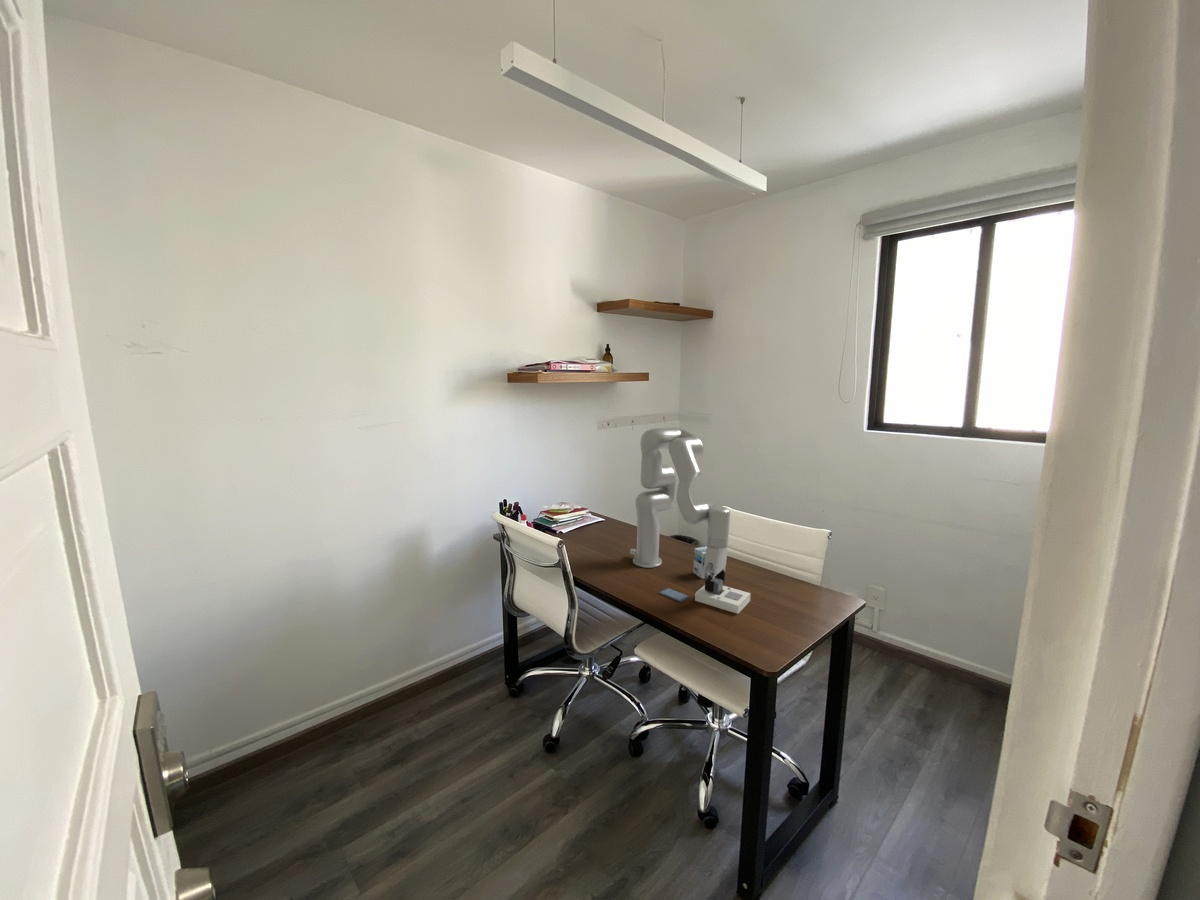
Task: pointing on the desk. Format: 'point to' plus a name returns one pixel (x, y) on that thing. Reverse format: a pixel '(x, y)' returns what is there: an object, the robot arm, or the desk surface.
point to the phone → (674, 595)
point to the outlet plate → (724, 599)
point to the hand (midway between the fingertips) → (714, 585)
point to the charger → (717, 586)
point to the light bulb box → (700, 562)
